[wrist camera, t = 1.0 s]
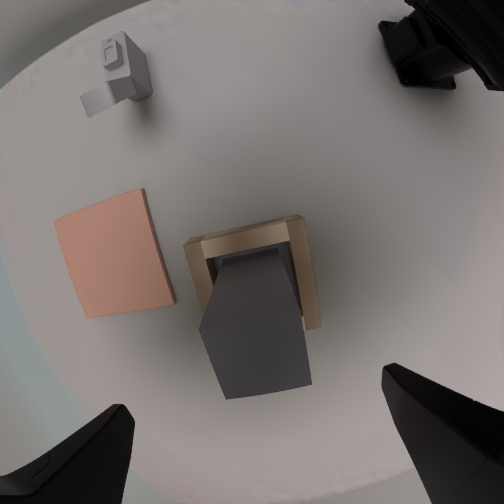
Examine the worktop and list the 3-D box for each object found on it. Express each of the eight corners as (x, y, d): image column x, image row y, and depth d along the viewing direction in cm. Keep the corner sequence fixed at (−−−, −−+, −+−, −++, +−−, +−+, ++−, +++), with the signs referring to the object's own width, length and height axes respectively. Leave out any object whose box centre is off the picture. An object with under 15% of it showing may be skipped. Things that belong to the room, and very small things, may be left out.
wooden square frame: (299, 214, 19) (304, 218, 17) (315, 314, 21) (321, 326, 19) (189, 239, 20) (183, 245, 18) (218, 333, 22) (215, 347, 20)
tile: (143, 188, 19) (140, 188, 18) (176, 301, 21) (174, 304, 20) (57, 220, 19) (53, 221, 19) (89, 315, 21) (86, 318, 21)
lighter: (125, 61, 16) (74, 20, 8) (144, 52, 16) (99, 5, 8) (140, 136, 18) (81, 116, 10) (161, 128, 18) (109, 101, 10)
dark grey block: (277, 247, 20) (300, 309, 10) (287, 297, 21) (311, 384, 11) (223, 259, 20) (198, 329, 10) (236, 307, 21) (226, 399, 11)
